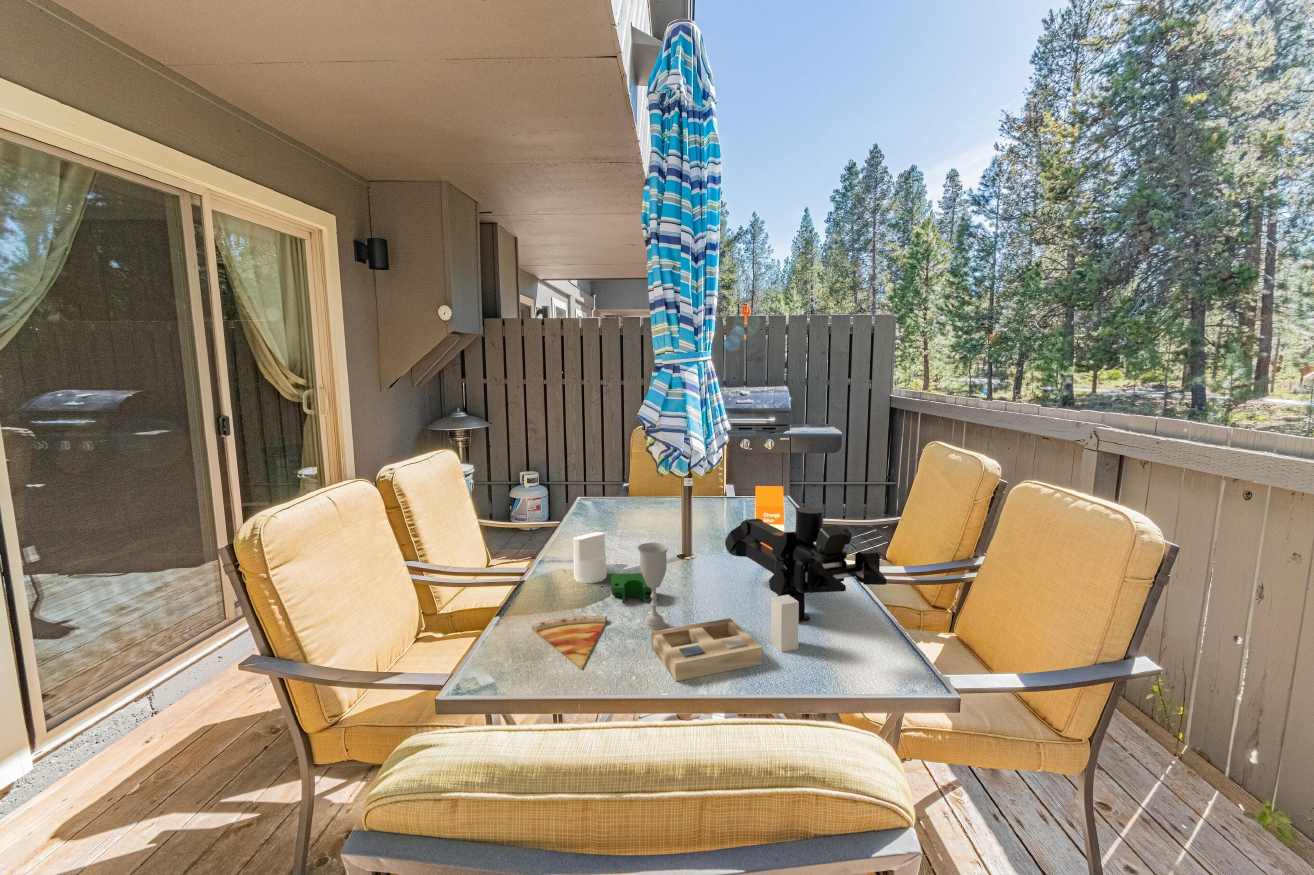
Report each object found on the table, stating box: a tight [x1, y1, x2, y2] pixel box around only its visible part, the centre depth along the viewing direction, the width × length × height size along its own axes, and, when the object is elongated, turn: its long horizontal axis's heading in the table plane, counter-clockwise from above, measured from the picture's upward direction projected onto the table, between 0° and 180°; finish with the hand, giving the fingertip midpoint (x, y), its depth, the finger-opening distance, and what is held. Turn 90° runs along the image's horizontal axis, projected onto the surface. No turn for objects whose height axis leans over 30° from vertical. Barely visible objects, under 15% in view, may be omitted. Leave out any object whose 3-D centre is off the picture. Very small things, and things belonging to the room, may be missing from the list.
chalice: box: [637, 542, 669, 631], centre depth 129 cm, size 7×7×18 cm
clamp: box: [610, 572, 652, 604], centre depth 144 cm, size 12×6×9 cm, turn 87°
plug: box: [770, 595, 800, 653], centre depth 118 cm, size 4×4×10 cm
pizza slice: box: [531, 615, 608, 671], centre depth 122 cm, size 16×22×2 cm
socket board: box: [650, 617, 763, 682], centre depth 115 cm, size 14×18×4 cm
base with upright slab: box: [572, 531, 607, 584], centre depth 160 cm, size 9×9×12 cm
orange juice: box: [754, 485, 785, 549], centre depth 184 cm, size 8×9×20 cm
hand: (865, 585), depth 107 cm, fingers open, 9 cm apart
